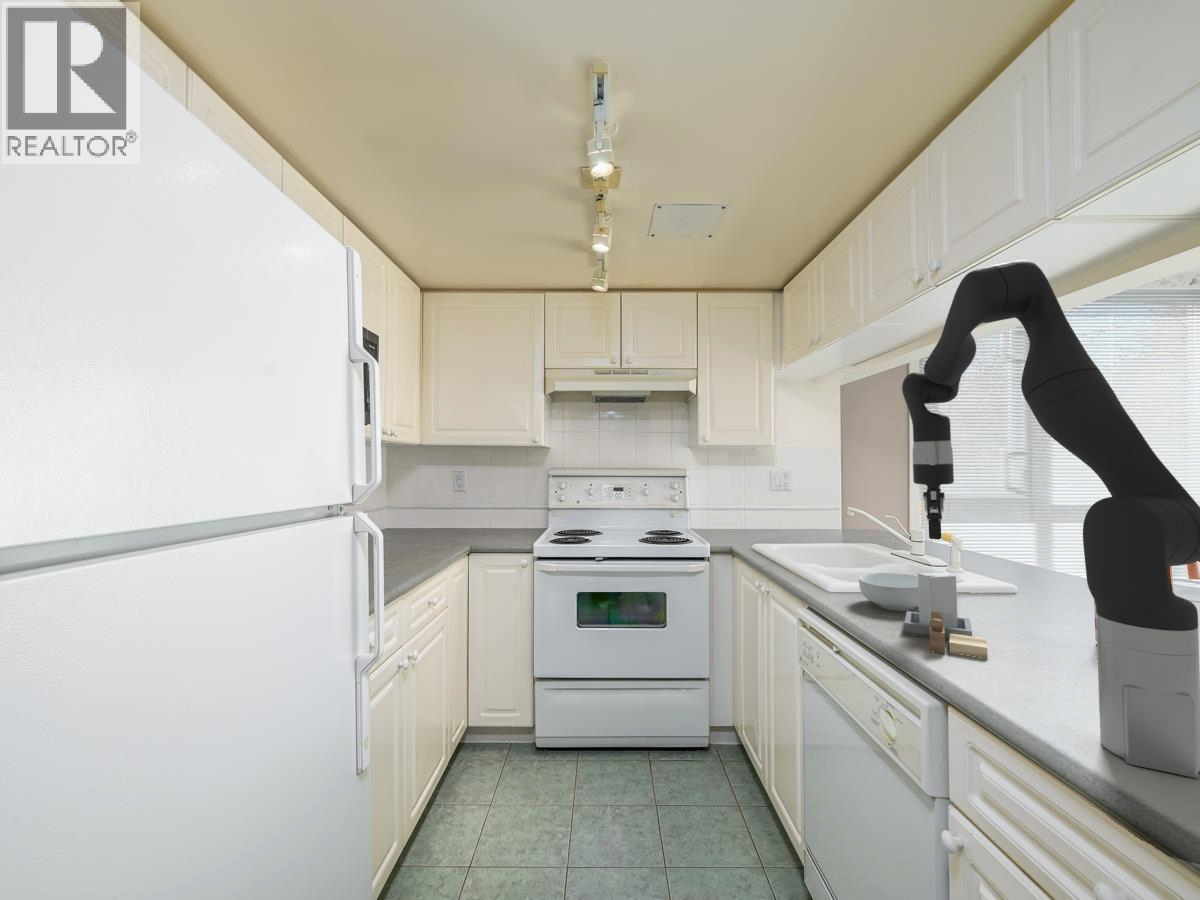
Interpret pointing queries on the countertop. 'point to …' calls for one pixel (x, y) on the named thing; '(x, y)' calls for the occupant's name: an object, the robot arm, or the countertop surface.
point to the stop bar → (937, 633)
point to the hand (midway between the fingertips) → (935, 536)
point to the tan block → (968, 645)
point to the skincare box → (937, 597)
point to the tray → (924, 630)
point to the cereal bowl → (891, 590)
